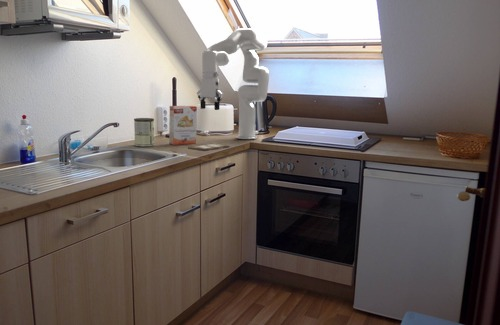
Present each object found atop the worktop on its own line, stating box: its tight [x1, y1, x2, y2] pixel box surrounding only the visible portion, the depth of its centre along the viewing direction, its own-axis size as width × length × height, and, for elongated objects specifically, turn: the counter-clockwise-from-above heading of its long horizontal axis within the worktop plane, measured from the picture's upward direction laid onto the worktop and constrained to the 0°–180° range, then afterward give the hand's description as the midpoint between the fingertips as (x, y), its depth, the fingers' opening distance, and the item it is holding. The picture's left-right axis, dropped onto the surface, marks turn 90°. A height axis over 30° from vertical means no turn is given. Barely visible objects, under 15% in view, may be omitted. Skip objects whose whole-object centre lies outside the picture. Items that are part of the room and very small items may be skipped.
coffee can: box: [133, 117, 155, 147], centre depth 238 cm, size 10×10×14 cm
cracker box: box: [168, 105, 198, 146], centre depth 246 cm, size 14×6×21 cm, turn 125°
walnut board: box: [187, 143, 230, 152], centre depth 236 cm, size 19×12×1 cm, turn 143°
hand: (209, 109), depth 233 cm, fingers open, 9 cm apart
